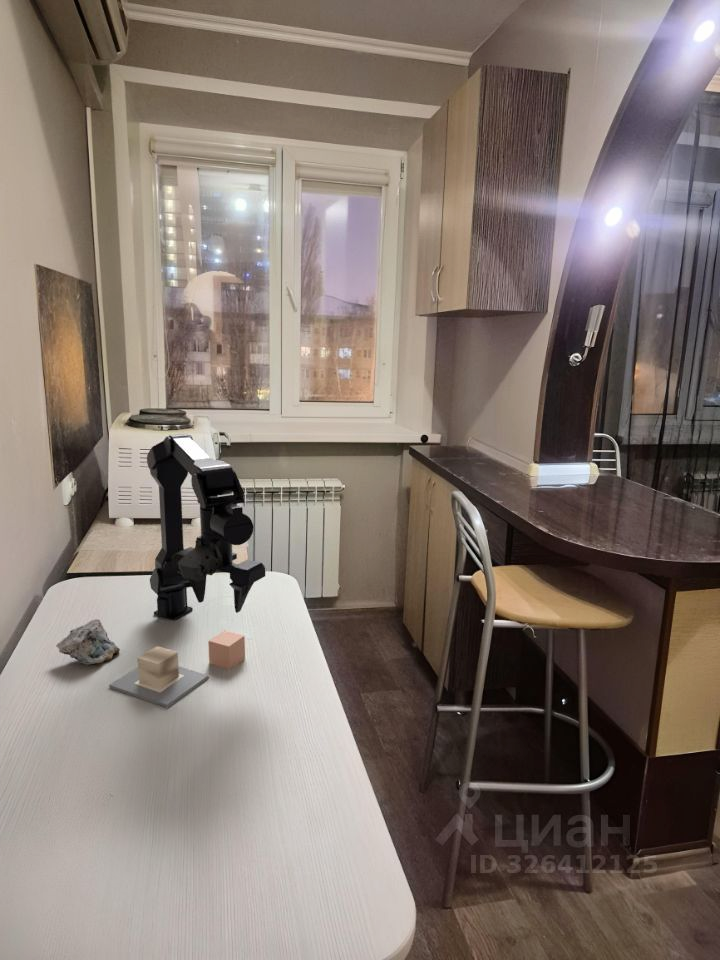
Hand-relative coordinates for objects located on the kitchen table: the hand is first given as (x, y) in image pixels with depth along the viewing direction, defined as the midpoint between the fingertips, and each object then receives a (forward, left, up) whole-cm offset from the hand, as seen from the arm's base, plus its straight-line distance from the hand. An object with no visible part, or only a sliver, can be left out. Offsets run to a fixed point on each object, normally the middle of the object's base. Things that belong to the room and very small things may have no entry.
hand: (219, 606), depth 123 cm
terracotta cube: (-1, +1, -12) cm, 12 cm away
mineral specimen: (+11, -24, -12) cm, 29 cm away
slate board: (+11, -5, -12) cm, 17 cm away
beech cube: (+11, -5, -11) cm, 17 cm away
